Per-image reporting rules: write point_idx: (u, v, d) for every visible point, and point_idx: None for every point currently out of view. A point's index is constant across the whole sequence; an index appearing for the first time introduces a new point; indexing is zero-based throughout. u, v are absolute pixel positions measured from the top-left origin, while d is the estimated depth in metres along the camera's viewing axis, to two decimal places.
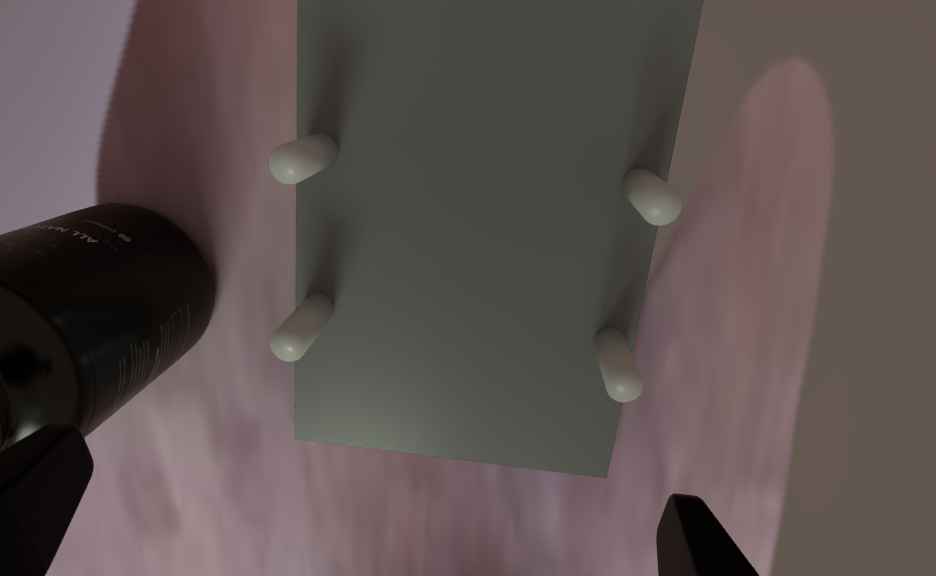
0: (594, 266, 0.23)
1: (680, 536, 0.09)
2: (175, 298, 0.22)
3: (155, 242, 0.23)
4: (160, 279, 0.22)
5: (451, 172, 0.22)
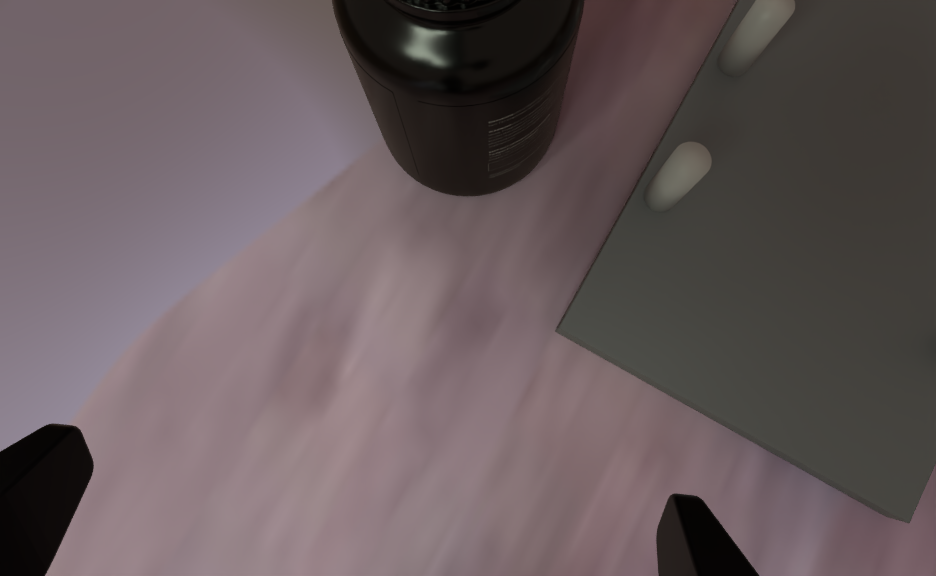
0: None
1: (679, 536, 0.09)
2: (562, 99, 0.21)
3: None
4: None
5: (846, 125, 0.23)
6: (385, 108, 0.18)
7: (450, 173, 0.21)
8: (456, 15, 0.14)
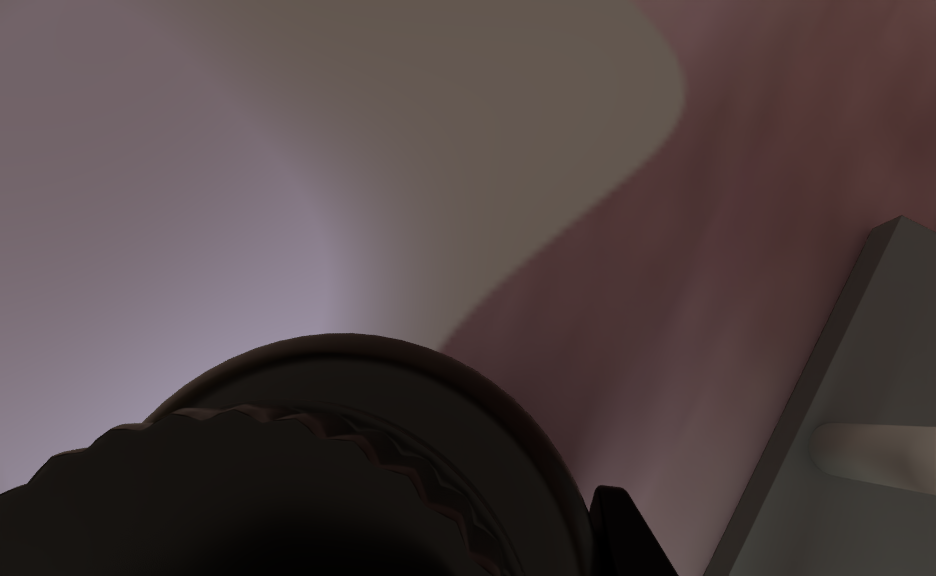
0: None
1: (600, 527, 0.09)
2: None
3: None
4: None
5: None
6: None
7: None
8: None
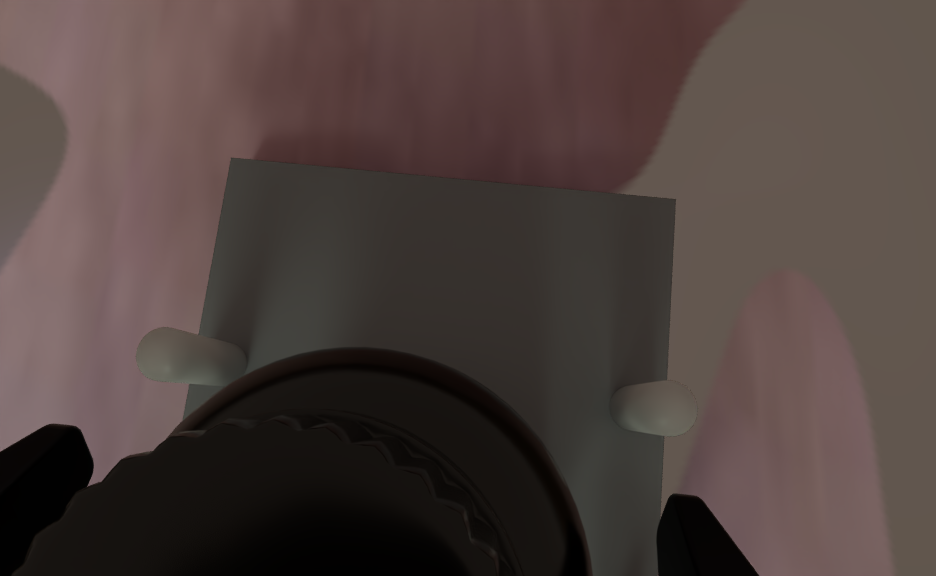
0: (584, 523, 0.17)
1: (679, 537, 0.09)
2: None
3: None
4: None
5: None
6: None
7: None
8: None
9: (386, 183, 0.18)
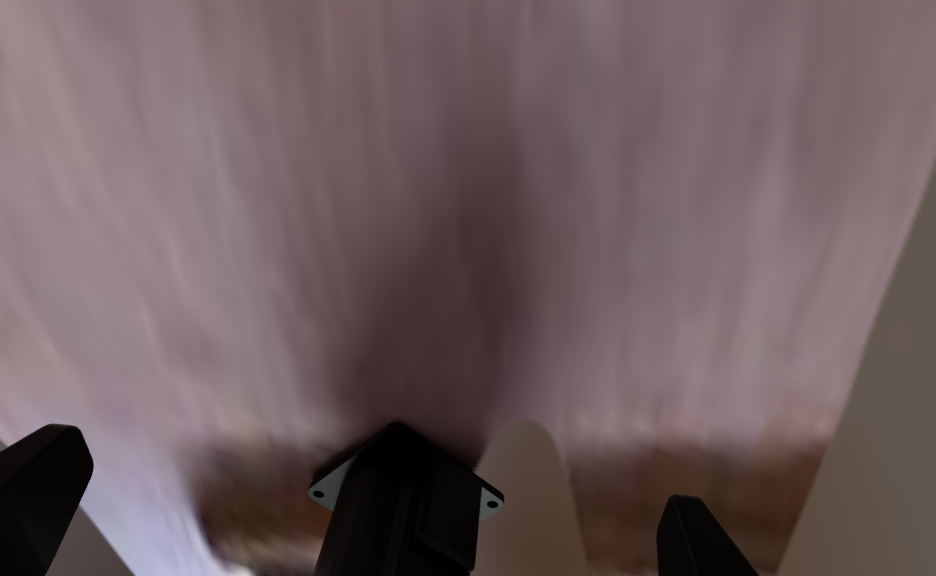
0: None
1: (679, 536, 0.09)
2: None
3: None
4: None
5: None
6: None
7: None
8: None
9: None
